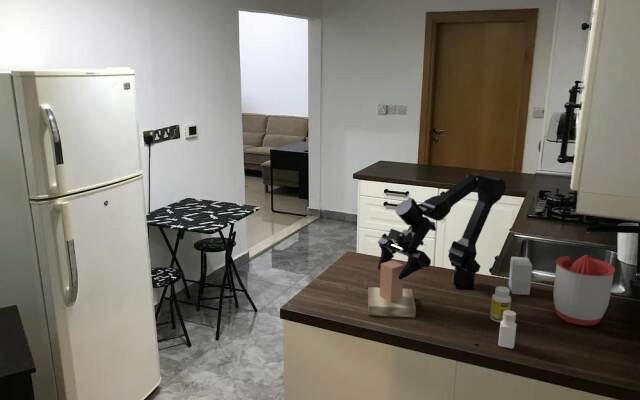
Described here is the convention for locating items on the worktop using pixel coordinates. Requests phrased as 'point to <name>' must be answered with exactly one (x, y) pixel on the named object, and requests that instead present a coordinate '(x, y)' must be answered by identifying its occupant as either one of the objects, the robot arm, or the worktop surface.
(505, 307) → the supplement bottle
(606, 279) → the citrus juicer
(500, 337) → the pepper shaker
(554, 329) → the worktop surface
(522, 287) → the small box
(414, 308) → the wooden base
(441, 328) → the worktop surface
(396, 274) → the terracotta block
